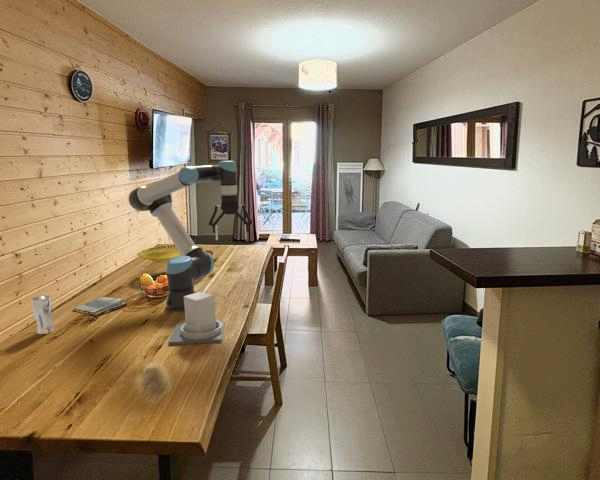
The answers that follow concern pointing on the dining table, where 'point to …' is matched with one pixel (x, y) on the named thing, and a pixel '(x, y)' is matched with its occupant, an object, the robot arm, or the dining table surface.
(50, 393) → the dining table surface
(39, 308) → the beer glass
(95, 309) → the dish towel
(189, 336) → the bottle holder
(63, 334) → the dining table surface
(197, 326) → the supplement box
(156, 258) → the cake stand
